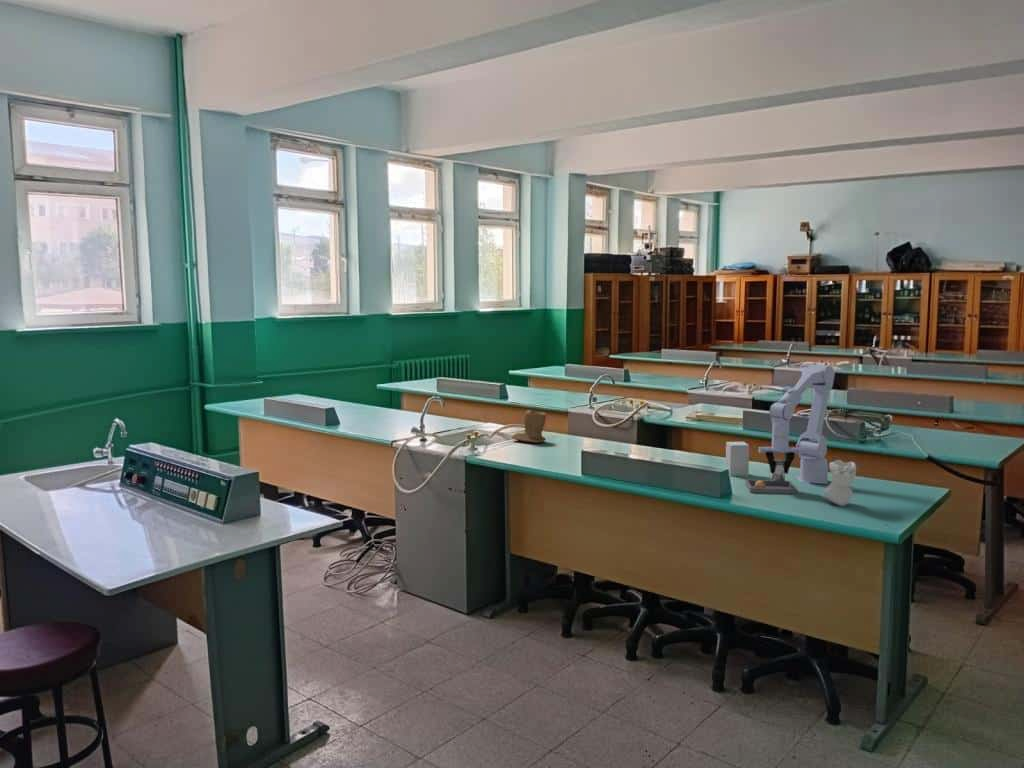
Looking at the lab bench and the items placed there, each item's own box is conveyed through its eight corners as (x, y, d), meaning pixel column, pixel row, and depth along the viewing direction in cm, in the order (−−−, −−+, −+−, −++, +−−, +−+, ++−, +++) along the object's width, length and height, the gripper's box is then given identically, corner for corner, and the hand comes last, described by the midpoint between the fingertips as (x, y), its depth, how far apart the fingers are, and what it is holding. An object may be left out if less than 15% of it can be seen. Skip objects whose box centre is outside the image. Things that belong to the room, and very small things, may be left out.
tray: (790, 486, 290) (790, 480, 290) (796, 495, 279) (797, 489, 278) (745, 485, 293) (745, 479, 293) (750, 494, 281) (750, 488, 281)
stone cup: (551, 441, 377) (551, 410, 375) (536, 445, 367) (536, 413, 365) (525, 437, 386) (525, 407, 384) (511, 441, 376) (510, 410, 374)
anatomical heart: (847, 500, 272) (849, 457, 270) (862, 509, 261) (864, 465, 259) (819, 500, 272) (821, 458, 270) (833, 510, 260) (835, 466, 259)
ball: (764, 488, 286) (764, 479, 285) (765, 491, 282) (766, 482, 282) (754, 488, 286) (754, 479, 286) (755, 491, 283) (755, 481, 282)
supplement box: (748, 477, 305) (749, 445, 303) (729, 477, 305) (730, 445, 303) (743, 472, 312) (744, 441, 311) (724, 472, 312) (725, 441, 311)
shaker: (783, 478, 288) (784, 459, 287) (786, 481, 284) (787, 462, 283) (770, 478, 289) (771, 459, 288) (773, 481, 284) (774, 462, 283)
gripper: (761, 437, 281) (760, 474, 283) (803, 438, 279) (802, 476, 280) (758, 433, 288) (756, 470, 290) (799, 434, 286) (798, 471, 287)
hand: (779, 472), depth 285 cm, fingers closed on shaker, 4 cm apart
